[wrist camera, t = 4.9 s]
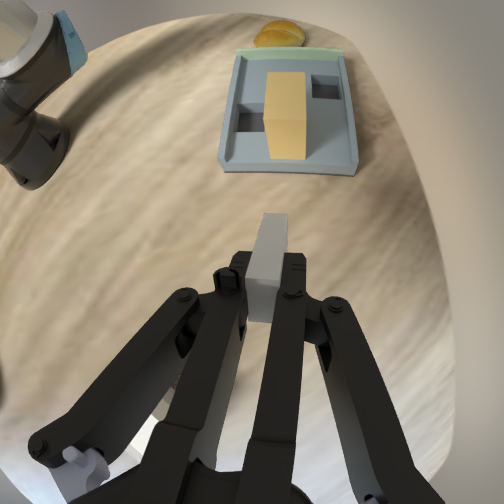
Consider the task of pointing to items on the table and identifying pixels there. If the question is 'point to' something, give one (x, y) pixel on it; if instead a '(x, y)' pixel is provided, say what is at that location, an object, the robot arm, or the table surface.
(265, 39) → the bread roll
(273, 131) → the ochre block
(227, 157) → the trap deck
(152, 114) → the table surface
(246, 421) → the table surface
